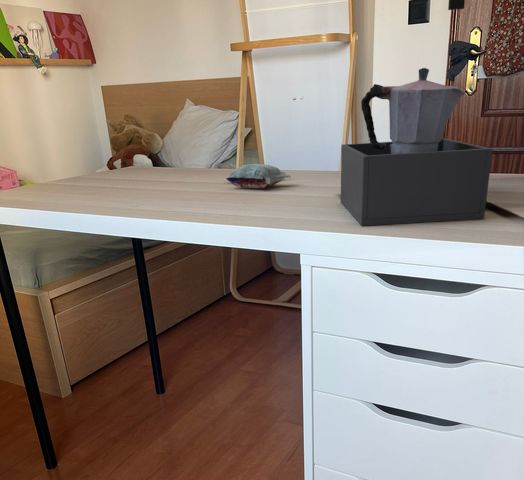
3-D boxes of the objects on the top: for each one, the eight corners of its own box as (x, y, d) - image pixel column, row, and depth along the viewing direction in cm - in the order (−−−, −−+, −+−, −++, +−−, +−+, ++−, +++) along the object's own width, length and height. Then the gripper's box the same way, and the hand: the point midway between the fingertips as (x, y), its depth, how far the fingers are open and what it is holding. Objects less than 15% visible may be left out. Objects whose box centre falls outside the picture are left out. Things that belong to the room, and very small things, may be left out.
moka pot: (457, 208, 82) (473, 63, 74) (357, 210, 85) (361, 71, 76) (449, 197, 91) (462, 66, 82) (359, 199, 94) (362, 72, 85)
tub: (440, 196, 97) (446, 138, 93) (483, 218, 80) (493, 148, 75) (340, 202, 97) (341, 144, 93) (361, 226, 80) (363, 156, 75)
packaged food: (249, 182, 124) (248, 160, 122) (291, 185, 118) (290, 162, 115) (225, 189, 118) (223, 166, 116) (268, 192, 112) (266, 168, 109)
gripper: (433, -126, 93) (425, 15, 102) (499, -197, 71) (481, -9, 80) (475, -129, 93) (463, 12, 103) (553, -200, 71) (530, -12, 80)
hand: (471, 3), depth 91 cm, fingers open, 13 cm apart
